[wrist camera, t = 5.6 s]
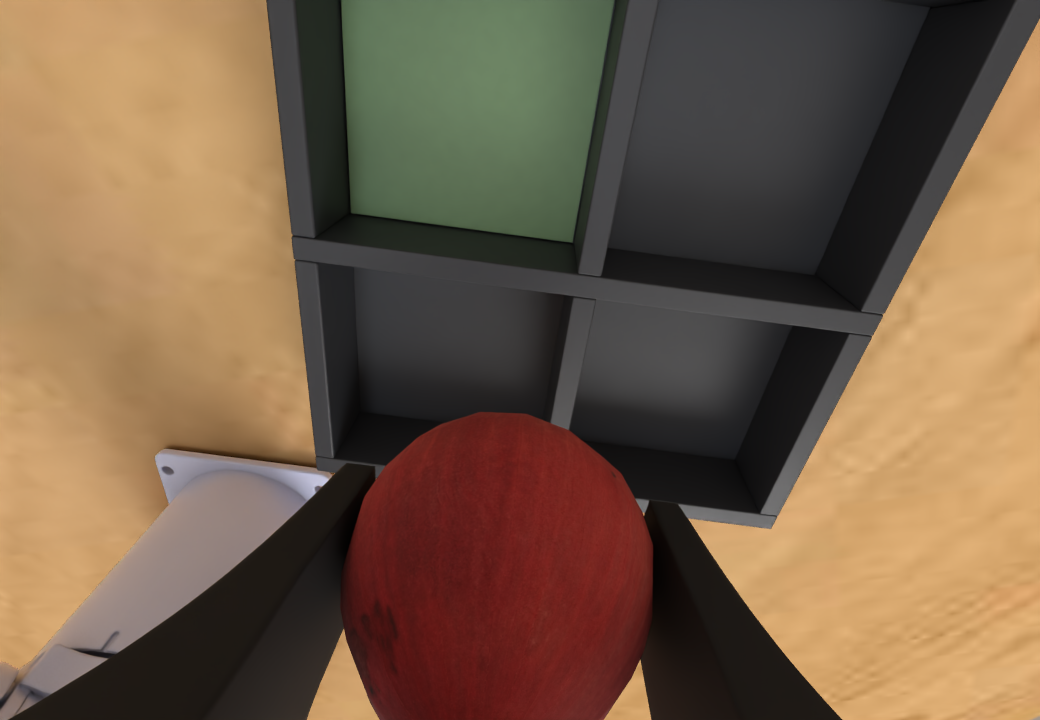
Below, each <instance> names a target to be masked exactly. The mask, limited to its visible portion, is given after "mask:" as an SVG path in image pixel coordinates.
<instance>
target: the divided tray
mask: <svg viewBox="0 0 1040 720" xmlns="http://www.w3.org/2000/svg"><path fill="white" fill-rule="evenodd" d="M266 2H267V11H268V20H269V30H270V39H271V48H272V57H273V66H274V76H275V85H276V94H277V103H278V112H279V122H280V131H281V140H282V149H283V158H284V168H285V177H286V186H287V195H288V205H289V214H290V223H291V232H292V235H293V236H292V246H293V255H294V259H296V260H295V270H296V279H297V288H298V298H299V307H300V316H301V325H302V334H303V344H304V353H305V362H306V371H307V380H308V390H309V399H310V408H311V417H312V426H313V436H314V445H315V454H316V466H317V470H318V471H324V472H332V473H336V472H337V471H338V470H339V469H340V468H341V467H342V466H343V465H345V464H346V463H353V464H361V465H369V466H375V474H376V478H378V476H379V475H380V473H381V472H382V470H383V469H384V467H385V466H386V465H387V464H388V463H390V462H391V461H392V460H393V459H394V458H395V457H396V456H397V455H399V454H400V453H401V452H402V451H403V450H404V449H405V448H406V447H408V446H409V445H410V444H411V443H412V442H413V441H414V440H415V439H416V438H418V437H419V436H421V435H423V434H425V433H426V432H428V431H430V430H432V429H433V428H435V427H437V426H439V425H440V424H443V423H446V422H450V421H453V420H456V419H459V418H462V417H466V416H469V415H472V414H475V413H478V412H497V413H522V414H529V415H531V416H534V417H536V418H539V419H541V420H544V421H547V422H549V423H552V424H554V425H557V426H560V427H562V428H565V429H567V430H570V431H571V432H572V433H573V434H575V435H576V436H577V437H578V438H580V439H581V440H582V441H583V442H585V443H586V444H587V445H588V446H590V447H591V448H592V449H593V450H595V451H596V452H597V453H598V454H600V455H601V456H602V457H603V458H604V459H605V460H607V461H608V462H609V463H610V464H611V465H612V466H613V467H615V468H616V469H617V470H618V471H619V472H620V473H621V474H622V476H623V477H624V479H625V481H626V483H627V485H628V487H629V488H630V490H631V492H632V494H633V496H634V498H635V500H636V501H637V503H638V505H639V507H640V509H641V511H642V512H643V513H645V512H646V509H647V506H648V503H649V500H653V501H661V502H669V503H677V504H678V505H679V506H680V507H681V509H682V510H683V512H684V513H685V515H686V516H687V518H689V519H697V520H705V521H713V522H720V523H728V524H736V525H744V526H752V527H759V528H767V529H771V528H772V526H773V524H774V522H775V520H776V519H777V516H778V515H779V513H780V511H781V509H782V507H783V505H784V503H785V502H786V500H787V498H788V496H789V494H790V492H791V490H792V488H793V486H794V484H795V483H796V481H797V479H798V477H799V475H800V473H801V471H802V469H803V467H804V465H805V464H806V462H807V460H808V458H809V456H810V454H811V452H812V450H813V448H814V446H815V445H816V443H817V441H818V439H819V437H820V435H821V433H822V431H823V429H824V427H825V426H826V424H827V422H828V420H829V418H830V416H831V414H832V412H833V410H834V409H835V407H836V405H837V403H838V401H839V399H840V397H841V395H842V393H843V391H844V390H845V388H846V386H847V384H848V382H849V380H850V378H851V376H852V374H853V372H854V371H855V369H856V367H857V365H858V363H859V361H860V359H861V357H862V355H863V353H864V352H865V350H866V348H867V346H868V344H869V342H870V340H871V338H872V335H873V334H874V332H875V331H876V329H877V327H878V325H879V323H880V321H881V319H882V317H883V315H882V314H884V313H885V311H886V309H887V308H888V306H889V304H890V302H891V300H892V298H893V296H894V294H895V292H896V290H897V289H898V287H899V285H900V283H901V281H902V279H903V277H904V275H905V273H906V272H907V270H908V268H909V266H910V264H911V262H912V260H913V258H914V256H915V254H916V253H917V251H918V249H919V247H920V245H921V243H922V241H923V239H924V237H925V235H926V234H927V232H928V230H929V228H930V226H931V224H932V222H933V220H934V218H935V216H936V215H937V213H938V211H939V209H940V207H941V205H942V203H943V201H944V199H945V197H946V196H947V194H948V192H949V190H950V188H951V186H952V184H953V182H954V180H955V178H956V177H957V175H958V173H959V171H960V169H961V167H962V165H963V163H964V161H965V159H966V158H967V156H968V154H969V152H970V150H971V148H972V146H973V144H974V142H975V140H976V139H977V137H978V135H979V133H980V131H981V129H982V127H983V125H984V123H985V121H986V120H987V118H988V116H989V114H990V112H991V110H992V108H993V106H994V104H995V102H996V101H997V99H998V97H999V95H1000V93H1001V91H1002V89H1003V87H1004V85H1005V83H1006V82H1007V80H1008V78H1009V76H1010V74H1011V72H1012V70H1013V68H1014V66H1015V64H1016V63H1017V61H1018V59H1019V57H1020V55H1021V53H1022V51H1023V49H1024V47H1025V45H1026V44H1027V42H1028V40H1029V38H1030V36H1031V34H1032V32H1033V30H1034V28H1035V26H1036V25H1037V23H1038V21H1039V19H1040V0H266Z"/></svg>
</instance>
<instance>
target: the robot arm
mask: <svg viewBox="0 0 1040 720" xmlns="http://www.w3.org/2000/svg"><path fill="white" fill-rule="evenodd" d="M155 462H156V465H157V468H158V471H159V474H160V477H161V481H162V484H163V487H164V490H165V493H166V496H167V500H168V503H169V505H168V506H167V507H166V508H165V509H164V511H163V512H162V513H161V514H160V515H159V516H158V517H157V519H156V520H155V521H154V522H153V523H152V524H151V525H150V527H149V528H148V529H147V530H146V531H145V532H144V533H143V534H142V536H141V537H140V538H139V539H138V540H137V541H136V542H135V544H134V545H133V546H132V547H131V548H130V549H129V550H128V552H127V553H126V554H125V555H124V556H123V557H122V558H121V560H120V561H119V562H118V563H117V564H116V565H115V566H114V567H113V569H112V570H111V571H110V572H109V573H108V574H107V575H106V577H105V578H104V579H103V580H102V581H101V582H100V583H99V585H98V586H97V587H96V588H95V589H94V590H93V591H92V592H91V594H90V595H89V596H88V597H87V598H86V599H85V600H84V602H83V603H82V604H81V605H80V606H79V607H78V608H77V610H76V611H75V612H74V613H73V614H72V615H71V616H70V618H69V619H68V620H67V621H66V622H65V623H64V624H63V625H62V627H61V628H60V629H59V630H58V631H57V632H56V633H55V635H54V636H53V637H52V638H51V639H50V640H49V641H48V643H47V644H46V645H45V646H44V647H43V648H42V649H41V650H40V652H39V653H38V654H37V655H36V656H35V657H34V658H33V659H32V660H31V661H30V662H28V663H27V664H26V665H24V666H23V667H22V668H20V669H19V670H18V668H16V667H14V666H12V665H10V664H8V663H6V662H0V720H307V717H308V714H309V711H310V708H311V706H312V703H313V700H314V698H315V695H316V693H317V690H318V687H319V685H320V682H321V680H322V678H323V675H324V673H325V671H326V668H327V666H328V664H329V661H330V659H331V657H332V654H333V652H334V649H335V647H336V645H337V642H338V640H339V638H340V635H341V633H342V631H343V628H344V625H343V620H342V615H341V609H340V603H341V573H342V569H343V565H344V562H345V558H346V555H347V551H348V548H349V544H350V541H351V538H352V534H353V531H354V527H355V524H356V521H357V518H358V515H359V512H360V509H361V505H362V502H363V499H364V496H365V495H366V494H367V492H368V491H369V489H370V488H371V486H372V485H373V483H374V482H375V481H376V474H375V466H369V465H361V464H353V463H346V464H345V465H343V466H342V467H341V468H340V469H339V470H338V471H337V472H336V473H335V474H334V475H333V476H332V475H331V474H330V472H324V471H318V470H317V468H313V467H305V466H297V465H290V464H282V463H274V462H266V461H259V460H251V459H243V458H235V457H227V456H220V455H212V454H204V453H196V452H189V451H181V450H173V449H163V450H161V451H160V452H159V453H158V454H157V455H156V456H155ZM320 486H322V487H320ZM644 519H645V522H646V525H647V528H648V531H649V534H650V537H651V540H652V543H653V600H652V622H651V626H650V630H649V634H648V637H647V641H646V645H645V649H644V652H643V654H642V656H641V658H640V659H641V665H642V670H643V676H644V681H645V687H646V692H647V697H648V703H649V708H650V714H651V719H652V720H842V719H841V718H840V717H839V716H838V715H837V714H836V712H835V711H834V710H833V709H832V708H831V707H830V706H829V705H828V704H827V703H826V702H825V701H824V699H823V698H822V697H821V696H820V695H819V694H818V693H817V691H816V690H815V689H814V688H813V687H812V686H811V685H810V683H809V682H808V681H807V680H806V679H805V678H804V677H803V676H802V674H801V673H800V672H799V671H798V670H797V669H796V667H795V666H794V665H793V664H792V663H791V661H790V660H789V659H788V658H787V657H786V655H785V654H784V653H783V652H782V650H781V649H780V648H779V647H778V645H777V644H776V643H775V642H774V640H773V639H772V638H771V637H770V635H769V634H768V633H767V631H766V630H765V629H764V628H763V626H762V625H761V624H760V622H759V621H758V620H757V618H756V617H755V616H754V614H753V613H752V612H751V610H750V609H749V608H748V606H747V605H746V604H745V602H744V601H743V599H742V598H741V597H740V595H739V594H738V592H737V591H736V590H735V588H734V587H733V585H732V584H731V583H730V581H729V580H728V578H727V577H726V576H725V574H724V573H723V571H722V570H721V568H720V567H719V565H718V564H717V562H716V561H715V559H714V558H713V556H712V555H711V553H710V552H709V550H708V549H707V547H706V546H705V544H704V543H703V541H702V540H701V538H700V537H699V535H698V534H697V532H696V530H695V529H694V527H693V526H692V524H691V523H690V521H689V520H688V518H687V516H686V515H685V513H684V512H683V510H682V509H681V507H680V506H679V505H678V504H677V503H669V502H661V501H653V500H649V503H648V506H647V509H646V512H645V515H644Z"/></svg>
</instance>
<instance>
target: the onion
mask: <svg viewBox="0 0 1040 720" xmlns="http://www.w3.org/2000/svg"><path fill="white" fill-rule="evenodd" d="M652 600H653V543H652V540H651V537H650V534H649V531H648V528H647V525H646V522H645V519H644V516H643V513H642V511H641V509H640V507H639V505H638V503H637V501H636V500H635V498H634V496H633V494H632V492H631V490H630V488H629V487H628V485H627V483H626V481H625V479H624V477H623V476H622V474H621V473H620V472H619V471H618V470H617V469H616V468H615V467H613V466H612V465H611V464H610V463H609V462H608V461H607V460H605V459H604V458H603V457H602V456H601V455H600V454H598V453H597V452H596V451H595V450H593V449H592V448H591V447H590V446H588V445H587V444H586V443H585V442H583V441H582V440H581V439H580V438H578V437H577V436H576V435H575V434H573V433H572V432H571V431H570V430H567V429H565V428H562V427H560V426H557V425H554V424H552V423H549V422H547V421H544V420H541V419H539V418H536V417H534V416H531V415H529V414H522V413H497V412H478V413H475V414H472V415H469V416H466V417H462V418H459V419H456V420H453V421H450V422H446V423H443V424H440V425H439V426H437V427H435V428H433V429H432V430H430V431H428V432H426V433H425V434H423V435H421V436H419V437H418V438H416V439H415V440H414V441H413V442H412V443H411V444H410V445H409V446H408V447H406V448H405V449H404V450H403V451H402V452H401V453H400V454H399V455H397V456H396V457H395V458H394V459H393V460H392V461H391V462H390V463H388V464H387V465H386V466H385V467H384V469H383V470H382V472H381V473H380V475H379V476H378V478H377V479H376V481H375V482H374V483H373V485H372V486H371V488H370V489H369V491H368V492H367V494H366V495H365V496H364V499H363V502H362V505H361V509H360V512H359V515H358V518H357V521H356V524H355V527H354V531H353V534H352V538H351V541H350V544H349V548H348V551H347V555H346V558H345V562H344V565H343V569H342V573H341V603H340V609H341V615H342V620H343V625H344V630H345V635H346V640H347V643H348V646H349V648H350V651H351V654H352V656H353V659H354V662H355V664H356V667H357V669H358V672H359V675H360V677H361V680H362V682H363V685H364V688H365V690H366V693H367V696H368V698H369V701H370V703H371V705H372V707H373V709H374V710H375V712H376V714H377V716H378V717H379V719H380V720H604V718H605V717H606V715H607V714H608V712H609V711H610V709H611V708H612V706H613V705H614V703H615V702H616V700H617V699H618V697H619V696H620V694H621V693H622V691H623V690H624V688H625V687H626V685H627V684H628V682H629V681H630V679H631V678H632V676H633V674H634V671H635V669H636V667H637V665H638V663H639V661H640V658H641V656H642V654H643V652H644V649H645V645H646V641H647V637H648V634H649V630H650V626H651V622H652Z"/></svg>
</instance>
